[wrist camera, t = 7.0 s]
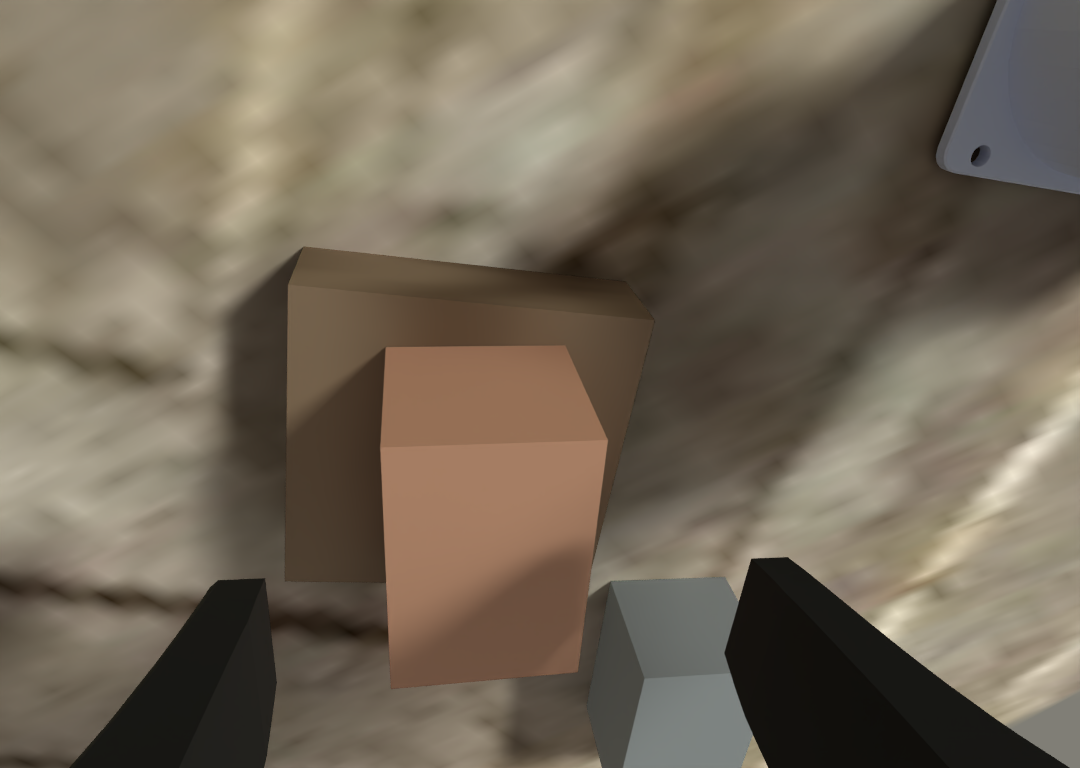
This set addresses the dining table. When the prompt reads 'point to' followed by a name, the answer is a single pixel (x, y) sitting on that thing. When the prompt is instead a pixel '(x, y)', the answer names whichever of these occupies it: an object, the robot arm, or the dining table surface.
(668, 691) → the grey block
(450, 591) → the terracotta block
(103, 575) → the dining table surface
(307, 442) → the walnut block
